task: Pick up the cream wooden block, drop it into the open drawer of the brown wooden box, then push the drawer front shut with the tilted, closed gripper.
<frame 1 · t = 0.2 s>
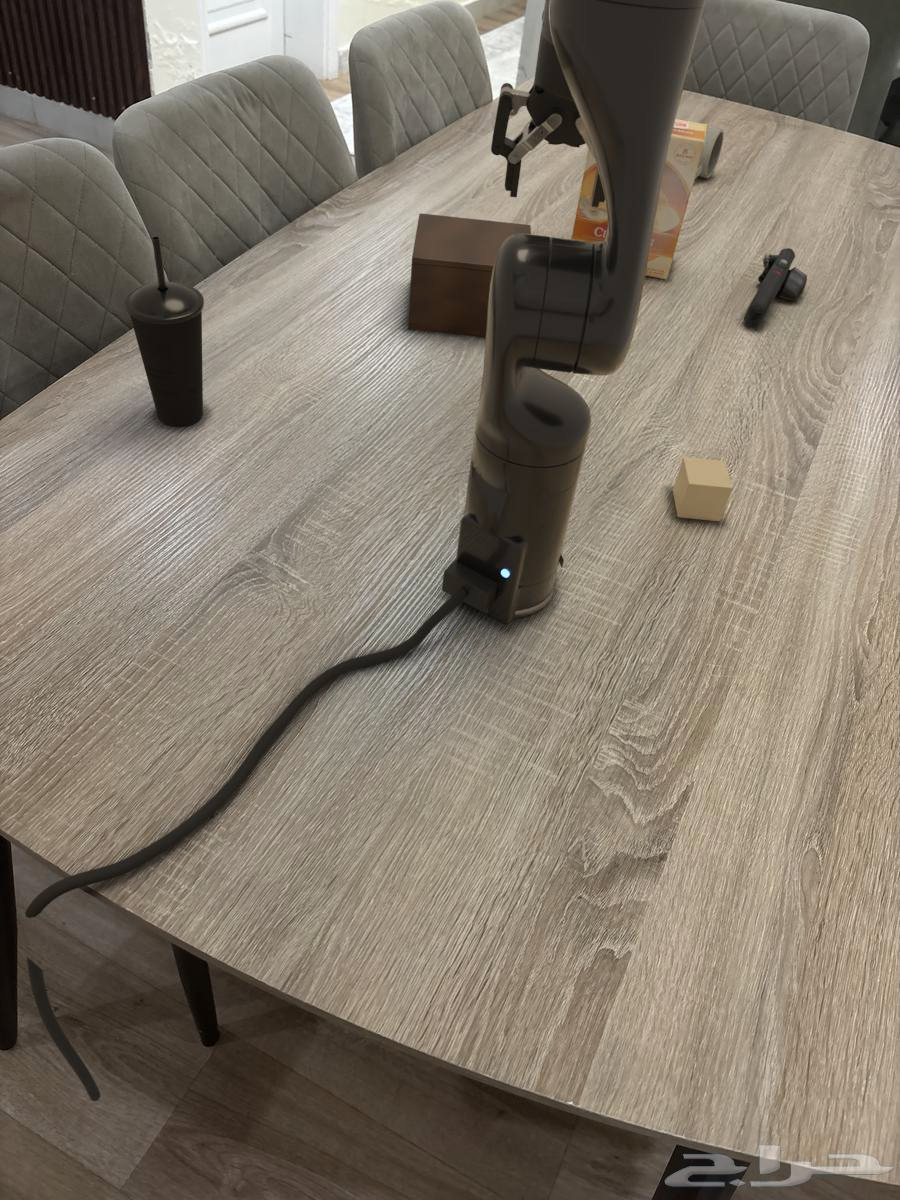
hand: (554, 198, 98), 22 cm above the table, tool pointing down, fingers open, 8 cm apart
block: (695, 505, 100), on the table
can opener: (766, 305, 134), on the table
brown wooden box: (466, 310, 125), on the table
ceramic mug: (687, 175, 165), on the table
drinking cup: (180, 415, 103), on the table
coffeecake box: (619, 262, 139), on the table
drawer: (553, 285, 122), point 5 cm above the table, slide at 8.5 cm
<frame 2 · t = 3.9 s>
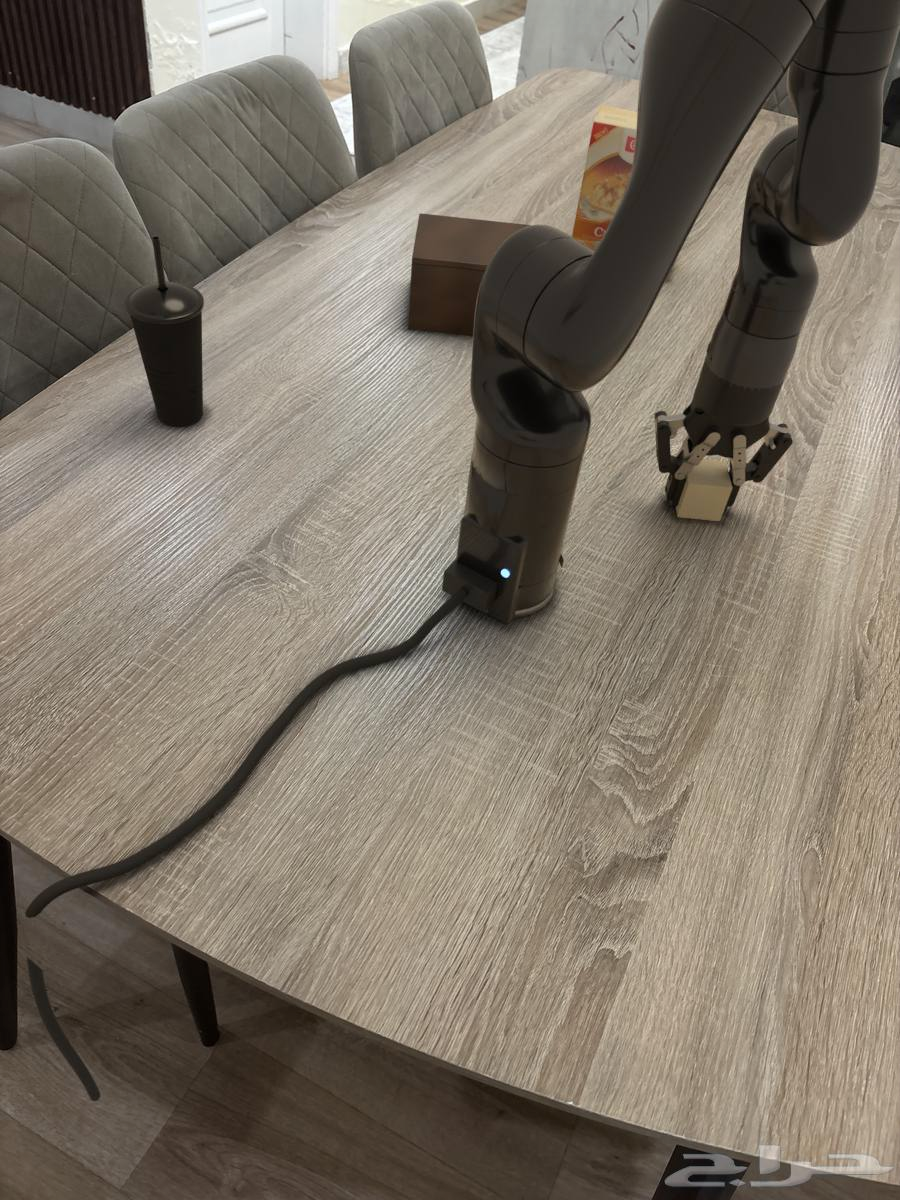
hand: (696, 503, 100), 0 cm above the table, tool pointing down, fingers closed on block, 4 cm apart
block: (695, 505, 100), on the table, touching gripper
everything else where it was.
when the fingers open (7 cm above the table, at t = 11.2 s): block drops 5 cm, resting on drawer.
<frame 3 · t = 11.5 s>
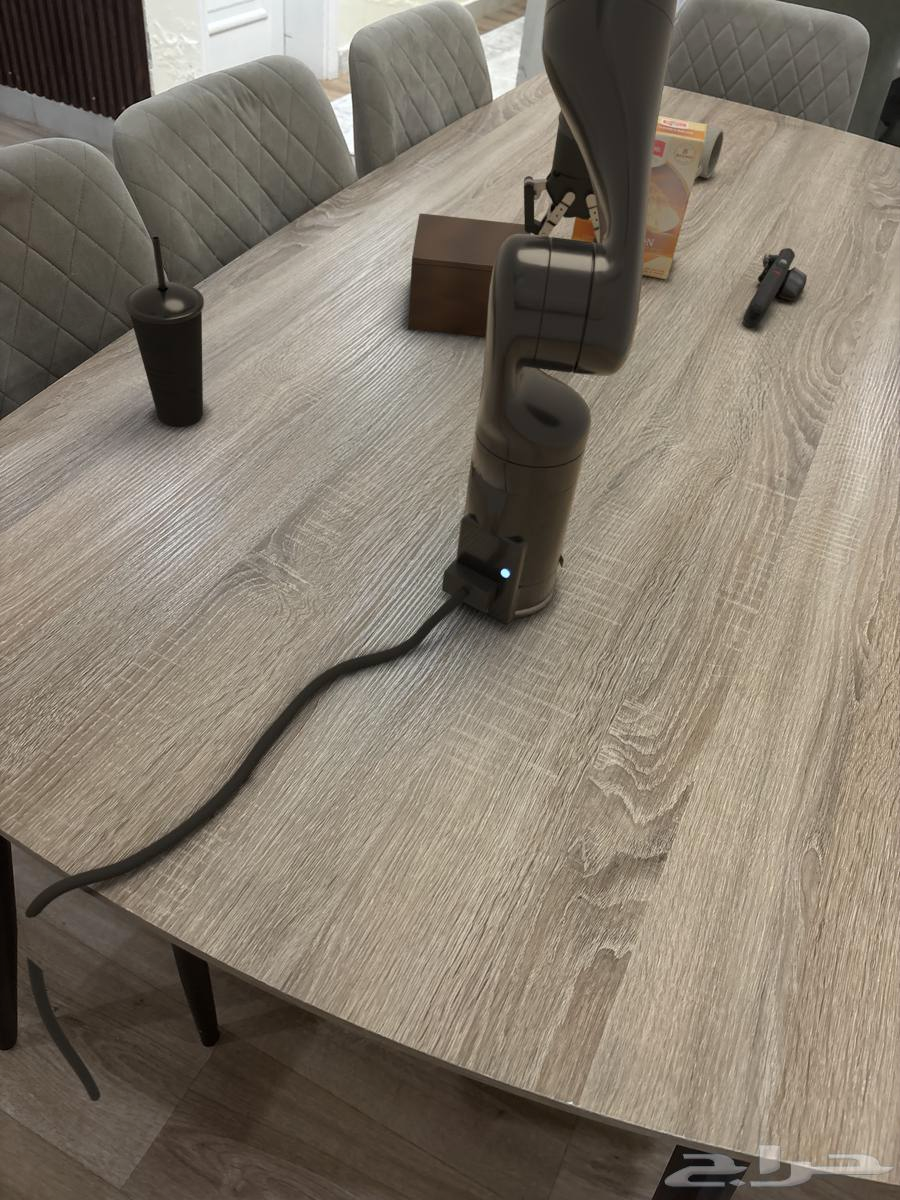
hand: (566, 266, 120), 7 cm above the table, tool pointing down, fingers open, 6 cm apart
block: (558, 305, 124), point 2 cm above the table, touching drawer
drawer: (557, 285, 122), point 5 cm above the table, slide at 9.1 cm, touching block, gripper
everything else where it was.
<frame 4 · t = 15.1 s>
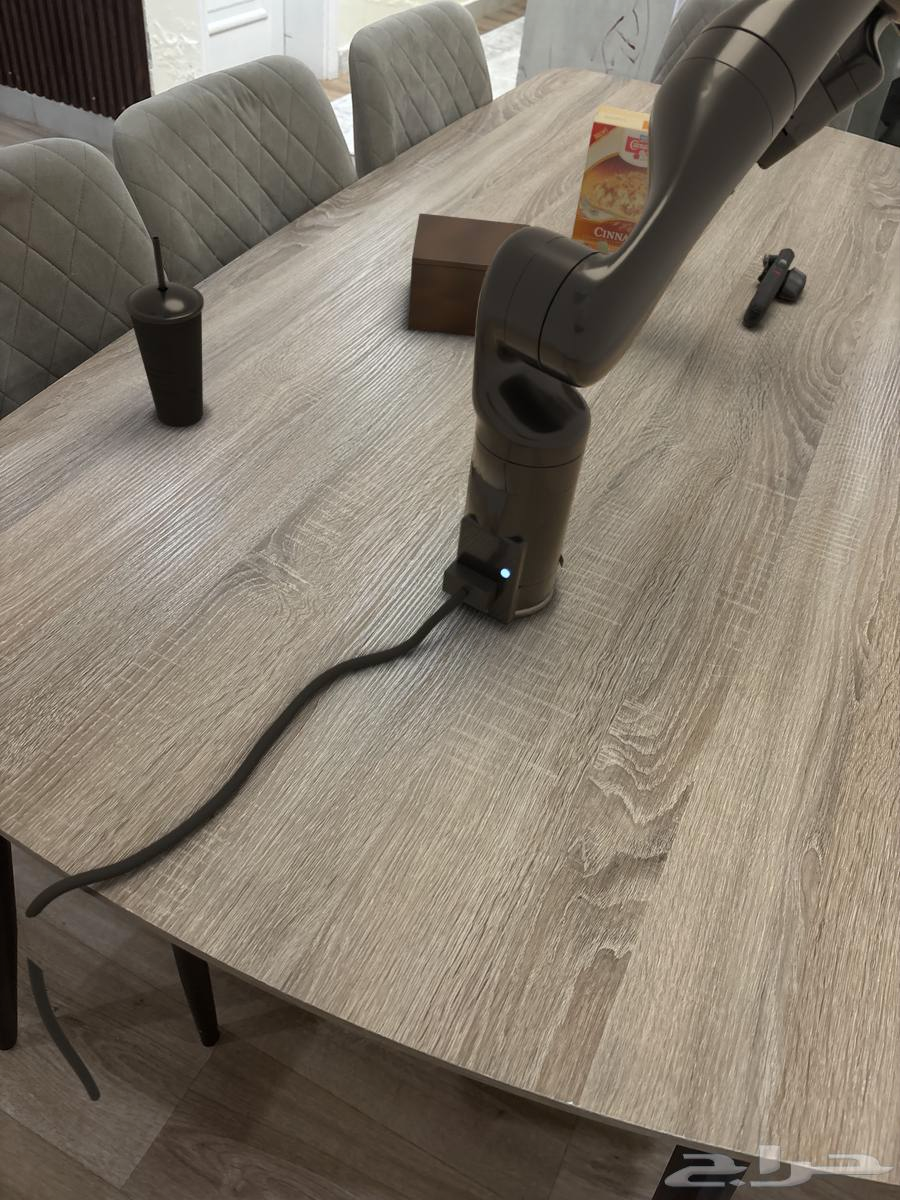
hand: (652, 212, 115), 15 cm above the table, tool tilted 45°, fingers closed
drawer: (557, 285, 122), point 5 cm above the table, slide at 9.0 cm, touching block
everything else where it was.
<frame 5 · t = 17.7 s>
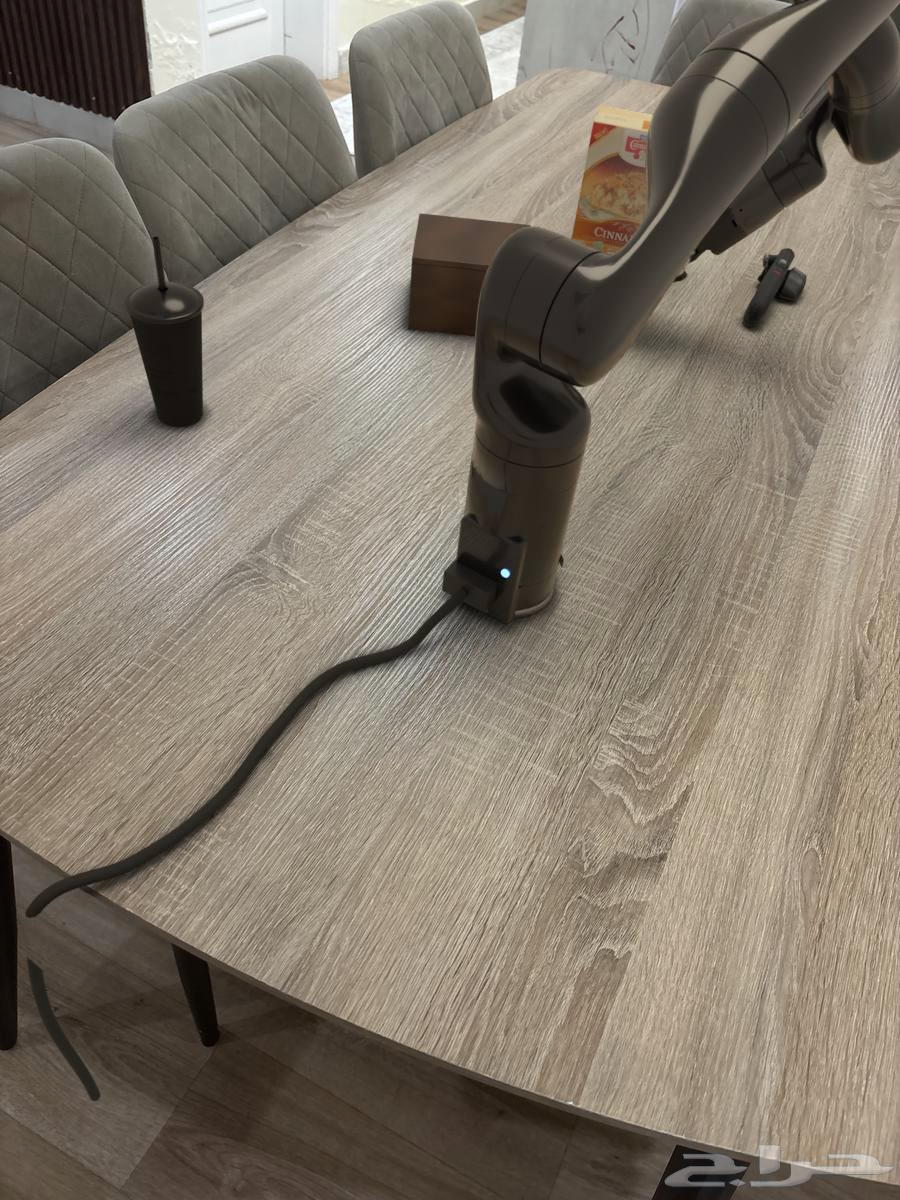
hand: (613, 290, 122), 5 cm above the table, tool tilted 45°, fingers closed
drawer: (552, 284, 122), point 5 cm above the table, slide at 8.4 cm, touching block, gripper
everything else where it was.
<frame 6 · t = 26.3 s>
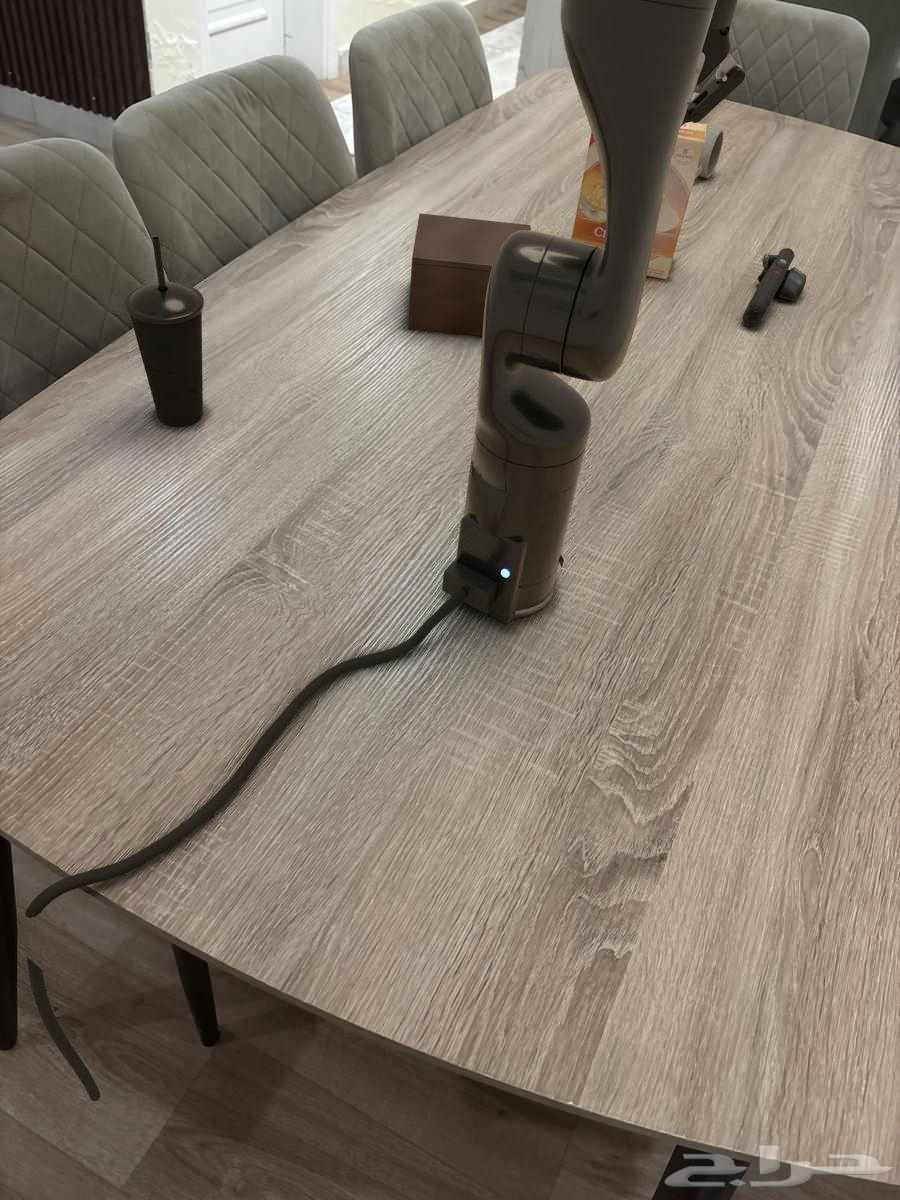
hand: (655, 162, 95), 27 cm above the table, tool pointing down, fingers closed
block: (489, 298, 123), point 2 cm above the table, touching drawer
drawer: (487, 278, 121), point 5 cm above the table, slide at 0.0 cm, touching block
everything else where it was.
at the end: block inside the target area in the brown wooden box (2.9 cm from its centre), point 2.0 cm above the brown wooden box's base; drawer slide at 0.0 cm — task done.
